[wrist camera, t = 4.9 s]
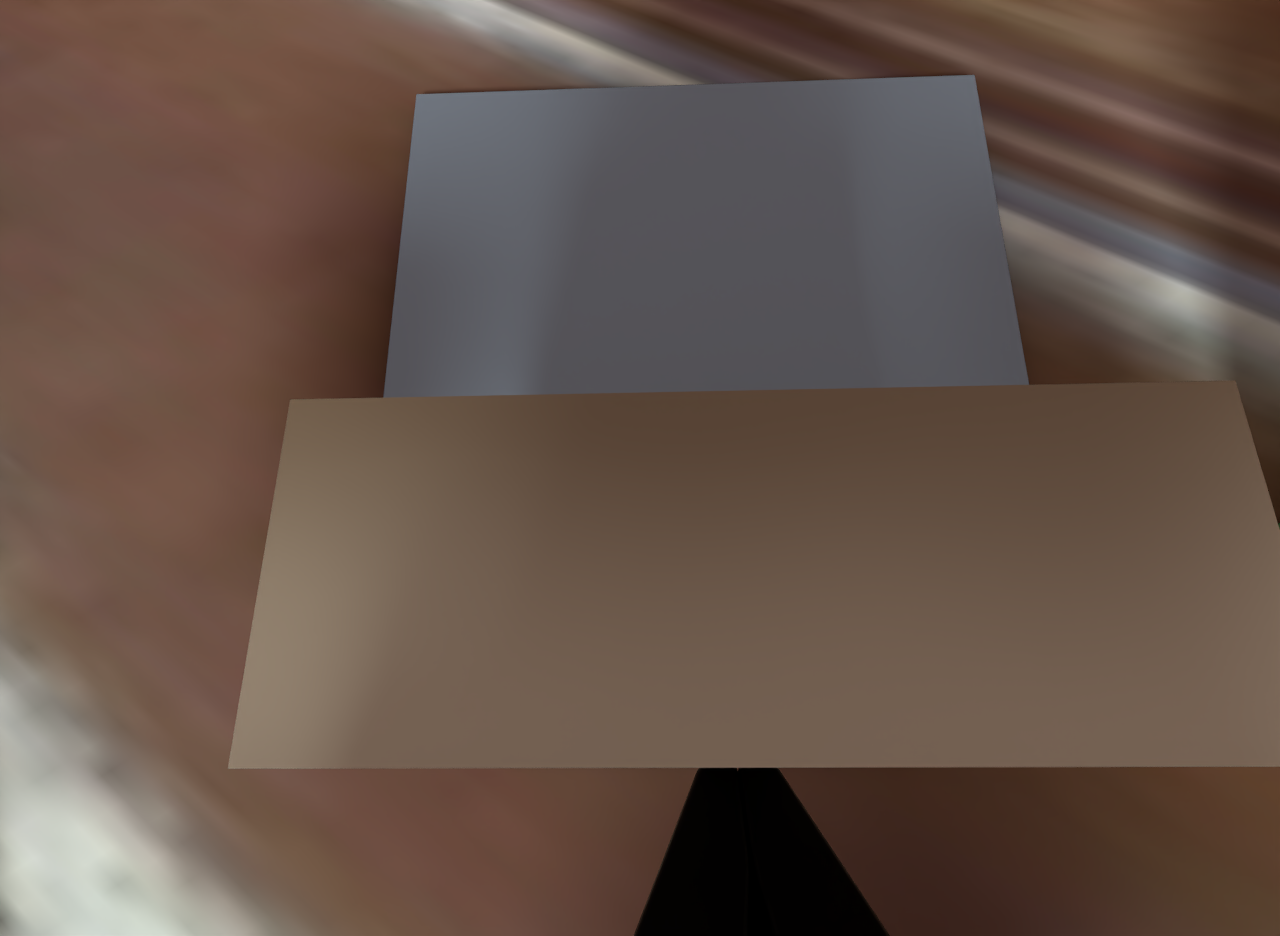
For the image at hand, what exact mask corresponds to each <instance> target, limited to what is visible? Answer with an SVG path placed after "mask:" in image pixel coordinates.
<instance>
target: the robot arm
mask: <svg viewBox="0 0 1280 936" xmlns="http://www.w3.org/2000/svg"><path fill="white" fill-rule="evenodd" d="M634 936H890V935H889V934H888V932H887V931H886V929H885V928H884V926H883V925H882V923H881V922H880V920H879V919H878V917H877V916H876V914H875V913H874V911H873V910H872V908H871V907H870V905H869V904H868V902H867V901H866V899H865V898H864V896H863V895H862V893H861V892H860V890H859V889H858V887H857V886H856V884H855V883H854V881H853V880H852V878H851V877H850V875H849V874H848V872H847V871H846V869H845V868H844V866H843V865H842V863H841V862H840V860H839V859H838V857H837V856H836V854H835V853H834V851H833V850H832V848H831V847H830V845H829V844H828V842H827V841H826V839H825V838H824V836H823V835H822V833H821V832H820V830H819V829H818V827H817V826H816V824H815V823H814V821H813V820H812V818H811V817H810V815H809V814H808V812H807V811H806V809H805V808H804V806H803V805H802V803H801V802H800V800H799V799H798V797H797V796H796V794H795V793H794V791H793V790H792V788H791V787H790V785H789V784H788V782H787V781H786V779H785V778H784V776H783V775H782V773H781V772H780V770H779V769H778V768H739V769H738V771H737V769H736V768H699V769H698V771H697V773H696V775H695V778H694V781H693V783H692V786H691V788H690V791H689V793H688V796H687V799H686V801H685V804H684V806H683V809H682V812H681V814H680V817H679V819H678V822H677V825H676V827H675V830H674V832H673V835H672V838H671V840H670V843H669V845H668V848H667V851H666V853H665V856H664V858H663V861H662V864H661V866H660V869H659V871H658V874H657V877H656V879H655V882H654V884H653V887H652V890H651V892H650V895H649V897H648V900H647V903H646V905H645V908H644V910H643V913H642V916H641V918H640V921H639V923H638V926H637V929H636V931H635V934H634Z"/></svg>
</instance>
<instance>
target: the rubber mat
mask: <svg viewBox="0 0 1280 936" xmlns="http://www.w3.org/2000/svg"><path fill="white" fill-rule="evenodd" d="M990 385H1029V381H1028V376H1027V370H1026V364H1025V359H1024V353H1023V347H1022V342H1021V336H1020V330H1019V325H1018V319H1017V313H1016V308H1015V302H1014V296H1013V291H1012V285H1011V279H1010V274H1009V268H1008V262H1007V257H1006V251H1005V245H1004V240H1003V234H1002V228H1001V223H1000V217H999V211H998V206H997V200H996V194H995V189H994V183H993V177H992V172H991V166H990V160H989V155H988V149H987V143H986V138H985V132H984V126H983V121H982V115H981V109H980V104H979V98H978V92H977V87H976V81H975V75H957V76H928V77H900V78H871V79H842V80H814V81H785V82H756V83H728V84H699V85H670V86H642V87H613V88H584V89H556V90H527V91H498V92H470V93H441V94H417V95H416V104H415V113H414V122H413V131H412V140H411V149H410V159H409V168H408V177H407V186H406V195H405V204H404V213H403V223H402V232H401V241H400V250H399V259H398V268H397V277H396V287H395V296H394V305H393V314H392V323H391V332H390V341H389V350H388V360H387V369H386V378H385V387H384V396H383V398H389V397H439V396H489V395H539V394H589V393H639V392H689V391H739V390H789V389H839V388H890V387H940V386H990Z"/></svg>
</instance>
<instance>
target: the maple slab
mask: <svg viewBox="0 0 1280 936" xmlns="http://www.w3.org/2000/svg"><path fill="white" fill-rule="evenodd" d="M837 767H1280V529H1279V526H1278V522H1277V519H1276V515H1275V512H1274V509H1273V505H1272V502H1271V499H1270V495H1269V492H1268V489H1267V485H1266V482H1265V478H1264V475H1263V472H1262V468H1261V465H1260V462H1259V458H1258V455H1257V452H1256V448H1255V445H1254V441H1253V438H1252V435H1251V431H1250V428H1249V425H1248V421H1247V418H1246V414H1245V411H1244V408H1243V404H1242V401H1241V398H1240V394H1239V391H1238V388H1237V384H1236V381H1190V382H1140V383H1090V384H1040V385H990V386H940V387H890V388H839V389H789V390H739V391H689V392H639V393H589V394H539V395H489V396H439V397H389V398H339V399H290V404H289V410H288V416H287V422H286V427H285V433H284V439H283V445H282V451H281V457H280V463H279V469H278V475H277V481H276V487H275V493H274V498H273V504H272V510H271V516H270V522H269V528H268V534H267V540H266V546H265V552H264V558H263V563H262V569H261V575H260V581H259V587H258V593H257V599H256V605H255V611H254V617H253V623H252V629H251V634H250V640H249V646H248V652H247V658H246V664H245V670H244V676H243V682H242V688H241V694H240V700H239V705H238V711H237V717H236V723H235V729H234V735H233V741H232V747H231V753H230V759H229V765H228V769H334V768H837Z"/></svg>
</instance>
